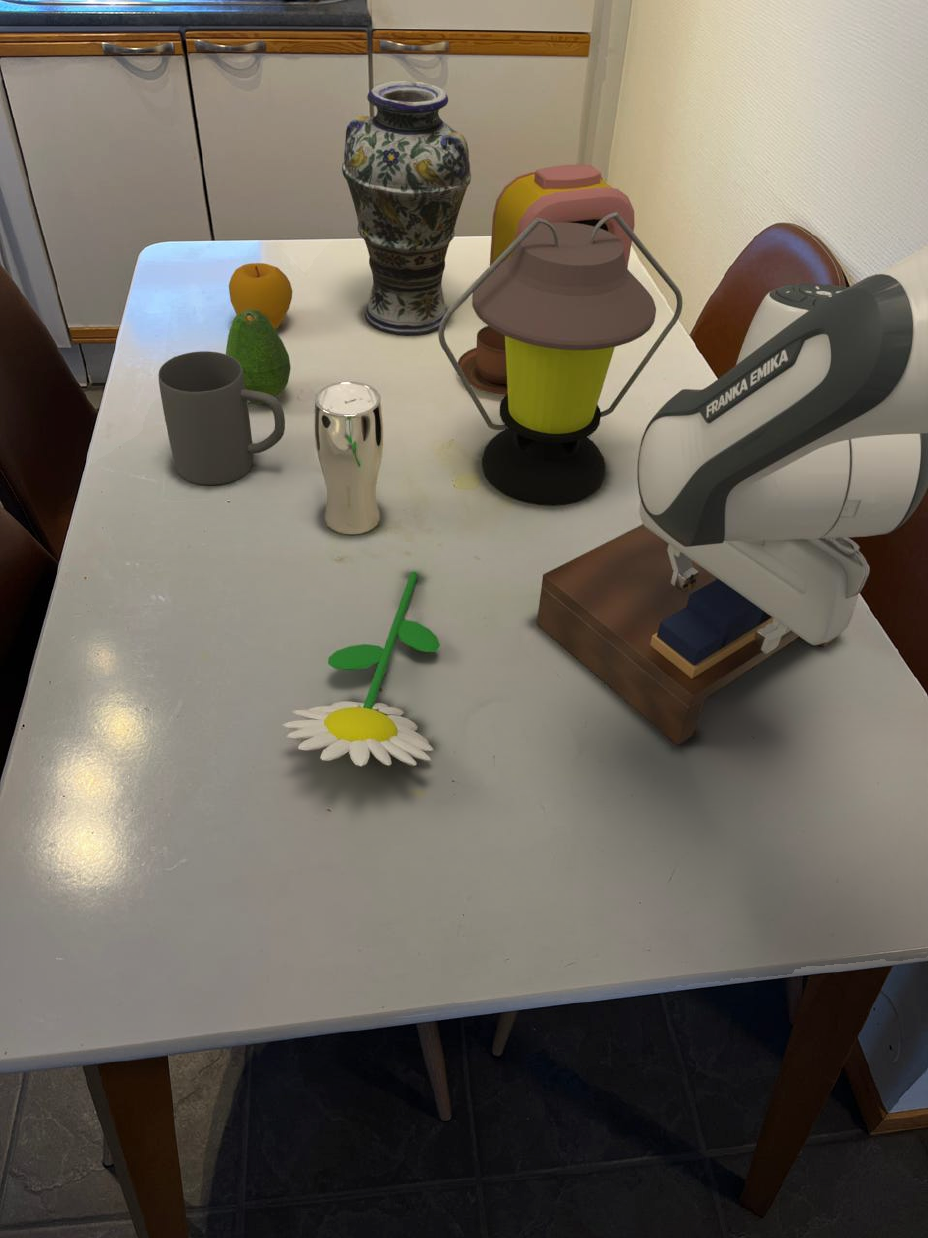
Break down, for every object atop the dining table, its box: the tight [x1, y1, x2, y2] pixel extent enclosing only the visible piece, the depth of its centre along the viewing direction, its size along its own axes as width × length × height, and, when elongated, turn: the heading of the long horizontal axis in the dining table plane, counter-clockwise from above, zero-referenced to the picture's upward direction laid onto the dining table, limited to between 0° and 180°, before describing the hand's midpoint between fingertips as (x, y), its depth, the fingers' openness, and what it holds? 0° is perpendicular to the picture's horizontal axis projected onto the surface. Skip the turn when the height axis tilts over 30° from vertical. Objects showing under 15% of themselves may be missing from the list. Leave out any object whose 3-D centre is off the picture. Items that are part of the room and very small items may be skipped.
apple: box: [228, 262, 293, 330], centre depth 134 cm, size 8×8×9 cm
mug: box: [157, 350, 286, 486], centre depth 108 cm, size 14×9×12 cm
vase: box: [341, 80, 472, 337], centre depth 132 cm, size 17×17×30 cm
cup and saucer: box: [457, 325, 508, 395], centre depth 128 cm, size 12×12×6 cm
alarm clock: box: [489, 164, 635, 269], centre depth 140 cm, size 18×11×19 cm, turn 112°
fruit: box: [225, 310, 292, 405], centre depth 119 cm, size 8×8×12 cm
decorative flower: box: [282, 571, 441, 767], centre depth 88 cm, size 13×5×30 cm
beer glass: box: [314, 381, 384, 536], centre depth 101 cm, size 7×7×15 cm
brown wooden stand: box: [536, 523, 838, 746], centre depth 94 cm, size 19×23×6 cm
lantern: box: [437, 212, 683, 506], centre depth 105 cm, size 25×19×30 cm
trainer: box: [650, 579, 774, 679], centre depth 85 cm, size 12×5×6 cm, turn 128°
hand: (722, 615), depth 85 cm, fingers open, 8 cm apart
